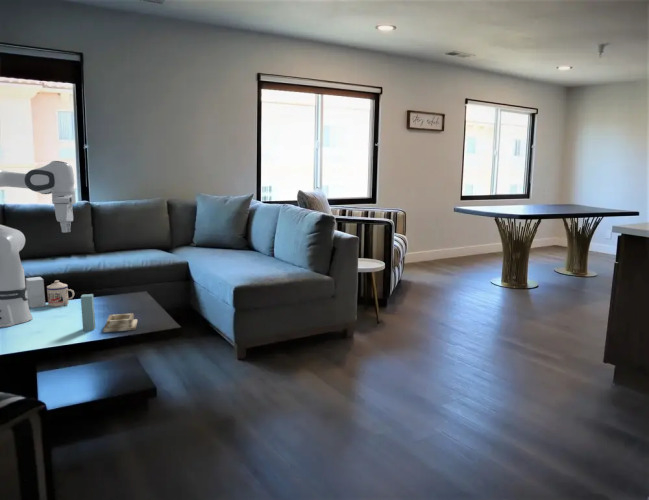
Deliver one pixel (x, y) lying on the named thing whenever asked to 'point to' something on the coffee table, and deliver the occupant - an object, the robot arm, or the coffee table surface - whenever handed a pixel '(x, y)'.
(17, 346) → the coffee table surface
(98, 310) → the coffee table surface
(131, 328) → the socket
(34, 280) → the small box
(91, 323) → the post
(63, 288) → the teacup with lid
